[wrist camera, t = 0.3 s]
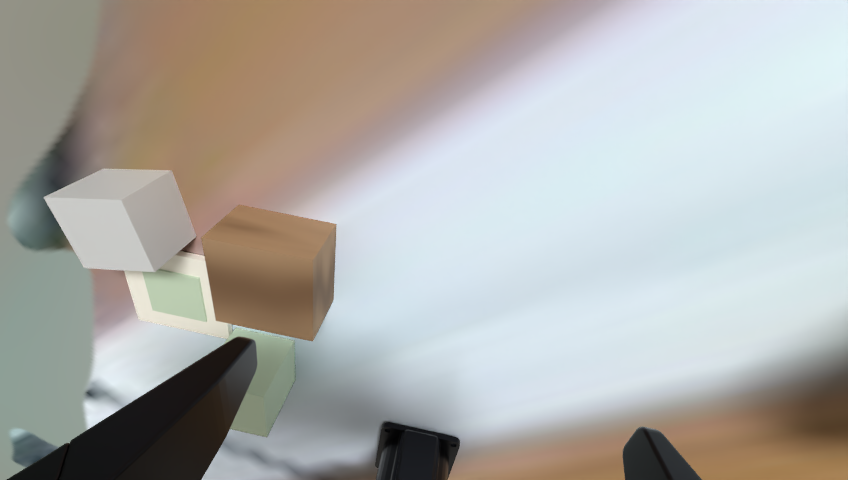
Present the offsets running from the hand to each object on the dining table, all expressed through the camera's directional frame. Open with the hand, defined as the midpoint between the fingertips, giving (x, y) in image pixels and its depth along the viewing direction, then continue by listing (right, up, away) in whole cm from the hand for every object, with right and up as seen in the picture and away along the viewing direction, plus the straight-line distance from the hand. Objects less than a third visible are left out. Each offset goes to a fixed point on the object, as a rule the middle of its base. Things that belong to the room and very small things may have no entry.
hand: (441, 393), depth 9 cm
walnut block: (-9, +3, +17) cm, 19 cm away
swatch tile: (-18, 0, +20) cm, 26 cm away
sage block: (-12, -5, +22) cm, 26 cm away
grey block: (-17, +6, +16) cm, 24 cm away
